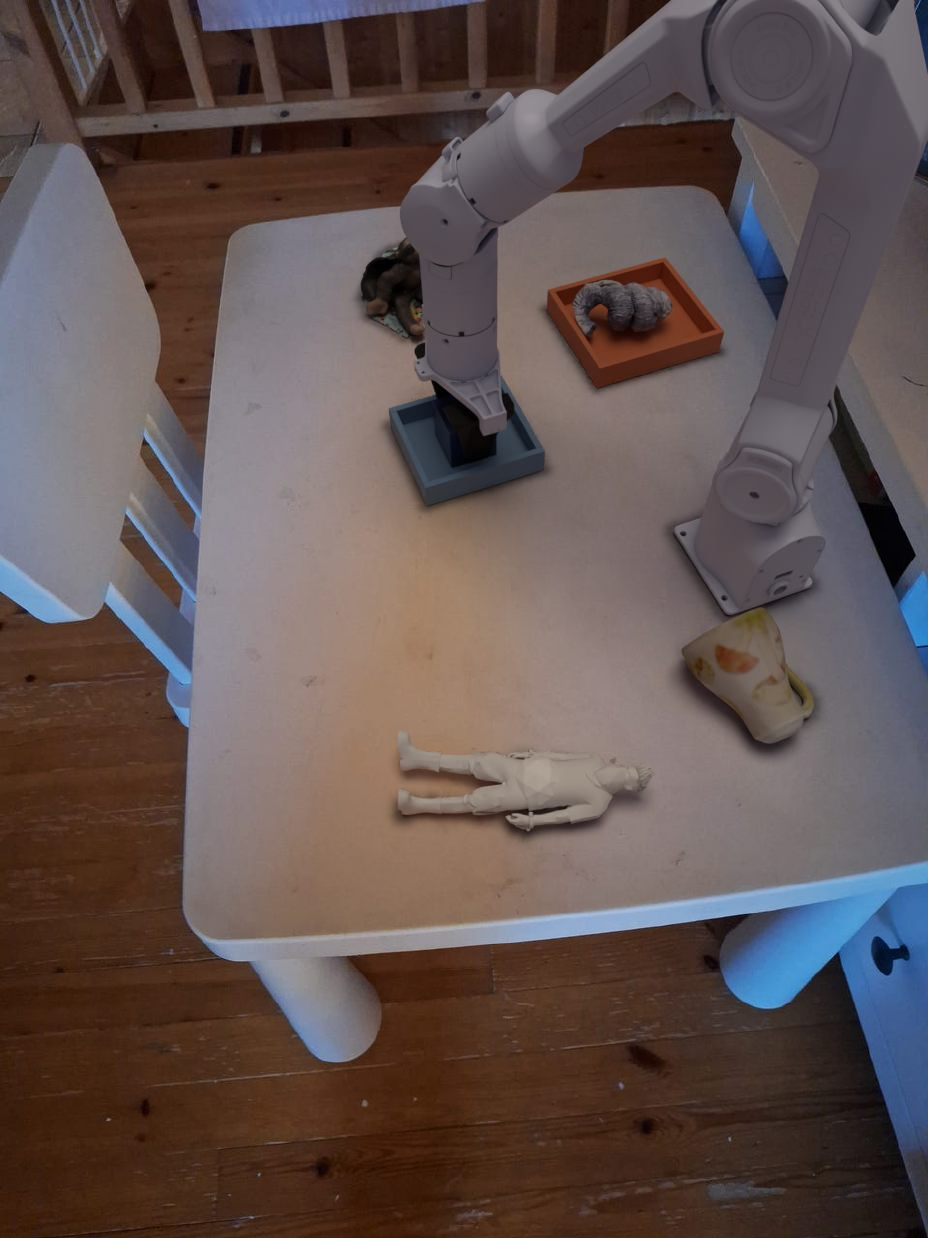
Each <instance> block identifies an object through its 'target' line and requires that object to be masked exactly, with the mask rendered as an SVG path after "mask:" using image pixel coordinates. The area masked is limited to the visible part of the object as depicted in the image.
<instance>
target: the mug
mask: <svg viewBox="0 0 928 1238" xmlns="http://www.w3.org/2000/svg"><path fill="white" fill-rule="evenodd" d="M776 622H777V621H776V620H775V619H774V618H773V616H772V615H771V614H770V613H769V611H768V610H767V609H765V608H764V607H762V606H761V607H755V608H754V609H753V608H752V609H750V610H749V611H748V610H747V611H746V612H744V613H742V614H740V615H737V616H734V617H733V618H731V619H729V620H726V621H725V622H722V623H721V624H719V625H717V626H715V627H713V628H711V629H710V630H708V631H705V633H703V634H701V635H699V636H698V637H696V638H695V639H694V640H692V641H690V642H689V643H688V644H686V645H685V646H683V647H682V648H681V651H680V652H681V655H682V656H683V659H684V661H685V664H686V667H688V669H689V670H690V672H691V673H692V675H693V676H694V677H695V678H696V679H697V680H698V681H699V682H700V683H701V685H702V686H704V687H705V688H706V689H708V690H709V691H710V692H712V693H713V694H714V695H716V696H717V697H718V698H720V699H721V701H723V702H724V703H726V704H727V705H728V706H730V707H731V708H732V709H733V710H734V712H736V714H738V716H740V718H741V720H742V721H743V722H744V724H745V726H746V728H747V730H748V731H749V732H750V734H751V735H752V737H753V739H754V740H756V741H759V742H762V743H764V744H774V743H777V742H780V741H783V740H785V739H789V738H790V737H791V736H793V735H795V734H796V733H798V732H799V731H800V730H801V728H802V727H803V725H804V720H805V719H808V718H809V717H810V716H811V715H812V713H813V710H814V709H815V708H814V707H815V704H814V698H813V694H812V693H811V691H810V689H809V688H808V687H807V685H805V683H804V682H803V681H802V679H801V678H800V677H798V675H797V674H796V673H795V672H794V671H793V669H791V668H790V667H789V665H788V663H787V661H786V655H785V647H784V642H783V638H782V634H781V631H780V628H779V626H778V623H776ZM791 686H792V687H793V689H794V690H795V691H796V692H797V694H798V695H799V696H800V698H801V700H802V703H803V704H802V705H800V703H799V701H798V699H797V698H796V696H795V694H794V692H793V689H792V687H791Z"/></svg>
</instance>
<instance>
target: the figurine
mask: <svg viewBox="0 0 928 1238" xmlns="http://www.w3.org/2000/svg"><path fill="white" fill-rule="evenodd" d="M396 745H397V752H398V755H399V756H400V759H399V763H400V771H405V772H406V771H410V770H416V769H422V770H423V769H426V770H428V771H434V772H437V773H440V770H442V771H444V772H448V773H453V774H461V775H469V776H472V775H474V778H476V779H478V780H481V781H487V782H495V783H499V784H493V785H487V786H481V787H477V788H476V789H474V790H473V791H472V793H471V794H469V793H466V794H464V795H459V796H448V797H442V796H437V797H431V798H430V797H429V798H427V797H417V796H414V795H412V794H411V793H410V792H409V791H408V790H405V789H402V788H398V791H397V809H398V810H399V811H400V813H401V814H402V815H405V816H410V815H417V814H423V813H424V814H425V813H428V814H429V813H431V814H439V815H442V814H462V813H463V814H464V813H472V815H474V816H486V815H493V814H499V813H501V812H503V811H520V810H526V809H528V811H529V812H528V815H526V814H523V813H511V815H510V814H507V815H506V816H505V818H506V820H507V821H508V822H509V823H510V824H511V825H514V826H515V827H516V828H519V829H521V830H526V832H530V831H531V829H534V826H543V825H560V824H565V823H568V822H569V823H570V824H571V825H572V824H576V823H580V822H581V823H582V822H586V821H591V820H595V819H599V818H600V817H601V816H602V815H604V813H605V811H606V810H607V809H608V806H609V804H610V802H611V800H612V799H613V797H614V796H613V794H615V793H616V792H618V791H623V790H627V791H637V792H643V791H645V790H646V789H647V788H648V785H649V784H650V782H651V779H652V778H653V777H654V776H655V774H656V773H657V772H656V770H654V769H653V768H652V767H650V766H649V764H646V763H644V762H639V763H637V766H626V765H619V764H613V763H611V764H608V763H606V761H605V759H604V758H603V757H602V756H601V755H600V754H598V753H595V752H566V753H565V752H558V751H533V748H529V749H528V751H514V752H509V754H508V755H504V754H502V753H500V752H496V751H495V752H489V751H474V752H473V753H467V754H442V751H426V750H422V749H419V748H418V747H416V746H415V745H414V744H413V742H412V740H411V735H410V733H409V731H407V730H403V729H399V730H398V733H397V744H396ZM565 806H567V807H566V808H564V809H560V810H559V809H557V810H553V811H551V812H547V813H542V814H534V812H533V811H537V810H538V811H539V810H540V811H541V810H543V809H554V808H557V807H565Z"/></svg>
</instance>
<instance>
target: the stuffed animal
mask: <svg viewBox="0 0 928 1238" xmlns="http://www.w3.org/2000/svg"><path fill="white" fill-rule="evenodd" d="M360 291H361V294H362V296H361V299H362V301H363V302H364V305H365V310H366V314H367V316H368V317H369V318H370V319H372V320H373V321H376V322H378V323H380V324H382V325H385V326H388V327H389V328H390V329H391V330H393V331H395V332H397V334H400V332H402V334H401V336H403V337H404V338H409V335H413V336H414V335H415V336H420V335H422V334H423V333H424V332H425V326H423V325H420V323H419V322H420V321H421V319H422V316H423V312H422V304H423V295H422V283H421V271H420V259H419V253H418V252H417V251H416V250H415V249H414V247H413V246H412V245H411V244H410V242H409V241H408V239H407V237H406V236H405V238H403V239H402V241H400V242H399V244H398V246H397V247H392V248H390V249H387V250H386V251H385V252H384V253H382V254H381V256H377V257H375V258H373V259H372V260H371V261H369V262H368V264H367V265H366V266H365V271H364V272H363V274H362V278H361V280H360ZM416 313H417V314H416Z"/></svg>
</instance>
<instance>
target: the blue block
mask: <svg viewBox="0 0 928 1238" xmlns="http://www.w3.org/2000/svg"><path fill="white" fill-rule="evenodd" d="M459 402H460V401H459V400H458V399H457V398H455V397H454V396H453V395H450V396H446V397H443V398H439V399H436V400H433V413H434V426H435V436H436V438H437V440H438V442H439V444H440V446H441V448H442V450H443V452H444V454H445V456H446V458H447V460H448V462H449V464H450V466H451V468H454V467H457V466H461V465H464V464H467V463H468V462H467V461H466V459H465V457H464V455H463V452H462V449H461V445H460V441H459V436H458V433H457V432H456V431H455V430H454V429H453V427H452V426H451V424H450V422H449V420H448V418H447V417H446V415H445V413H444V410H443V407H445V406H449V405H452V404H456V403H459ZM496 454H497V436H496V439H495V441H494V444H493V447H492V449H491V452H490V455H489V457H490V456H493V455H496Z"/></svg>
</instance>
